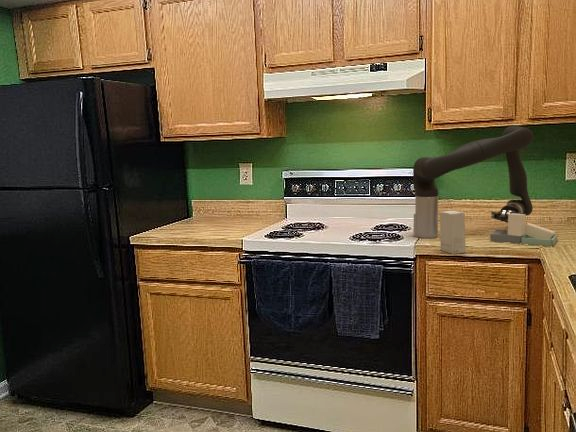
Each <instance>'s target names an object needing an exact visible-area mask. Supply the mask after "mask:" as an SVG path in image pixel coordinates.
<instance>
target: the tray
mask: <svg viewBox="0 0 576 432" xmlns="http://www.w3.org/2000/svg"><path fill="white" fill-rule="evenodd" d="M558 237H559V235H558V233H555V234H554V236H553V238H552V240H545V239H537V238H534V237H531V236H528V235H523V236H522V237H521V244H528V245H527V246H533V245H544V246H543V247H546V246H552V247H551V248H553V247H554V246H555V245H556V243H557V242H558ZM521 244H520V245H521ZM553 245H554V246H553Z"/></svg>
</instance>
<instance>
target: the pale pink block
mask: <svg viewBox="0 0 576 432" xmlns="http://www.w3.org/2000/svg"><path fill="white" fill-rule="evenodd" d="M526 217H527V216H526V214H516V213H512V214H508V223H507V230H508V235H514V236H523V235H525V226H526Z"/></svg>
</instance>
